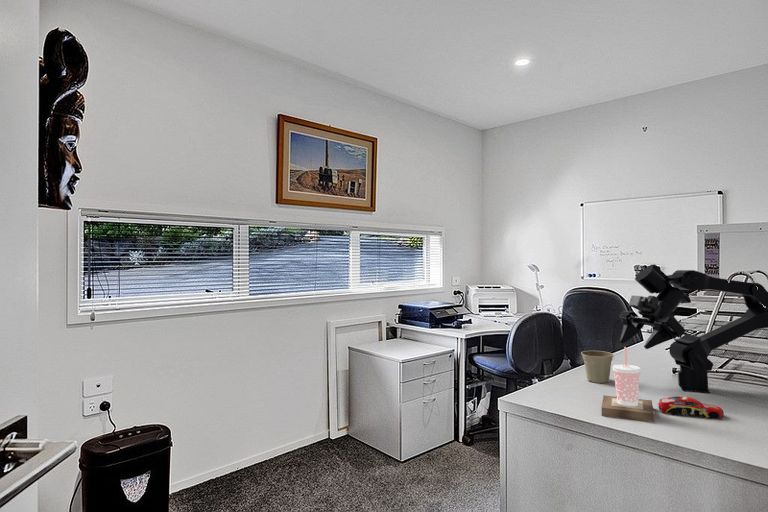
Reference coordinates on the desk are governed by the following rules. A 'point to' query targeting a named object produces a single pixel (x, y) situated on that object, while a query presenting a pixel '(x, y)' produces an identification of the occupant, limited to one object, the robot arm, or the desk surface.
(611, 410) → the walnut slab
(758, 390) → the desk surface
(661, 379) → the desk surface
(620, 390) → the beverage cup
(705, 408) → the race car
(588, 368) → the flower pot
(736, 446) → the desk surface
